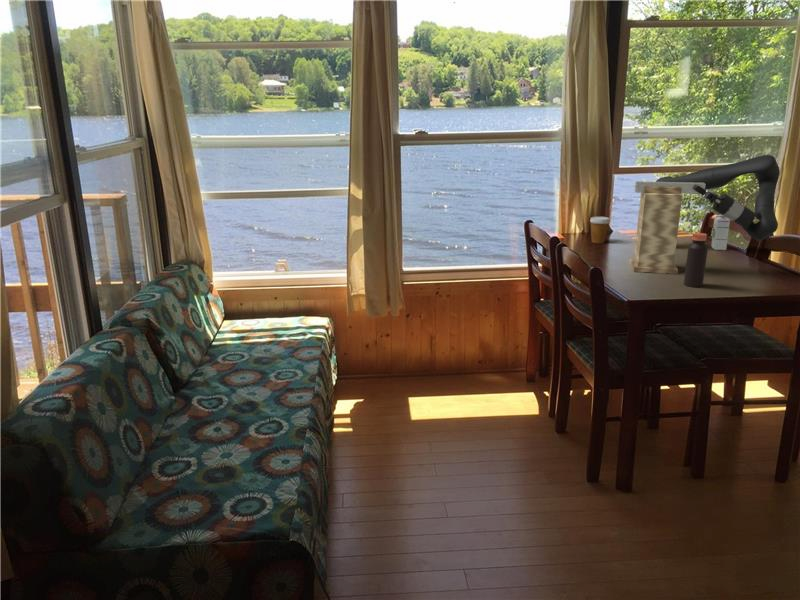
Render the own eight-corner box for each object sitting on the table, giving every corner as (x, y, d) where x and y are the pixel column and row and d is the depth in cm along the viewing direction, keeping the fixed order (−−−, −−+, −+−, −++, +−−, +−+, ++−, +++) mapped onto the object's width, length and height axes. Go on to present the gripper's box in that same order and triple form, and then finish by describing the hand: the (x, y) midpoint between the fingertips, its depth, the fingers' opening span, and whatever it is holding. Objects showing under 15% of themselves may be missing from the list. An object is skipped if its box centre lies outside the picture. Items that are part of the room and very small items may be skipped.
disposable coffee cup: (610, 244, 323) (612, 219, 319) (591, 244, 323) (593, 219, 319) (605, 239, 332) (607, 216, 328) (586, 239, 332) (587, 216, 329)
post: (670, 264, 284) (680, 184, 273) (677, 274, 270) (688, 189, 259) (629, 263, 287) (637, 183, 277) (633, 272, 273) (642, 188, 263)
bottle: (687, 287, 251) (694, 236, 245) (680, 282, 258) (687, 232, 252) (705, 287, 251) (712, 235, 245) (698, 282, 258) (705, 232, 252)
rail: (701, 192, 268) (703, 182, 266) (704, 194, 264) (705, 184, 263) (634, 191, 273) (635, 181, 271) (636, 192, 269) (637, 182, 268)
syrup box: (726, 250, 309) (731, 219, 305) (713, 249, 310) (717, 219, 306) (723, 247, 315) (727, 217, 310) (710, 246, 316) (714, 216, 311)
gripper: (729, 196, 271) (696, 176, 271) (739, 202, 257) (704, 180, 258) (717, 212, 273) (684, 191, 274) (726, 218, 260) (691, 196, 260)
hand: (693, 186), depth 266 cm, fingers open, 8 cm apart
